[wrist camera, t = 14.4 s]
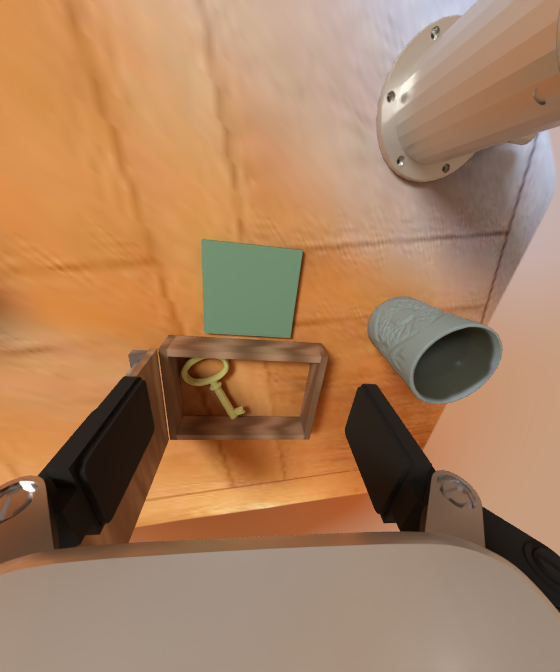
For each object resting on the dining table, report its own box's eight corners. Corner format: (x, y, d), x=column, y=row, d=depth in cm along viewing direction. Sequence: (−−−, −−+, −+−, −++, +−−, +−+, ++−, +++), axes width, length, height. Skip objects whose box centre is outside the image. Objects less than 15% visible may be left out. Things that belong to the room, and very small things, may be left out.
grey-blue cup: (372, 289, 33) (430, 322, 22) (439, 292, 34) (523, 326, 23) (356, 352, 37) (398, 405, 26) (415, 353, 38) (478, 405, 28)
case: (321, 343, 36) (432, 552, 13) (304, 421, 43) (360, 645, 20) (145, 333, 32) (-99, 591, 10) (159, 419, 39) (31, 686, 17)
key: (234, 413, 40) (233, 422, 38) (176, 369, 35) (171, 377, 33) (266, 389, 39) (267, 398, 37) (209, 340, 34) (207, 347, 32)
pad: (301, 249, 30) (302, 250, 29) (289, 335, 35) (290, 338, 34) (203, 239, 28) (201, 239, 27) (205, 330, 33) (204, 333, 32)
